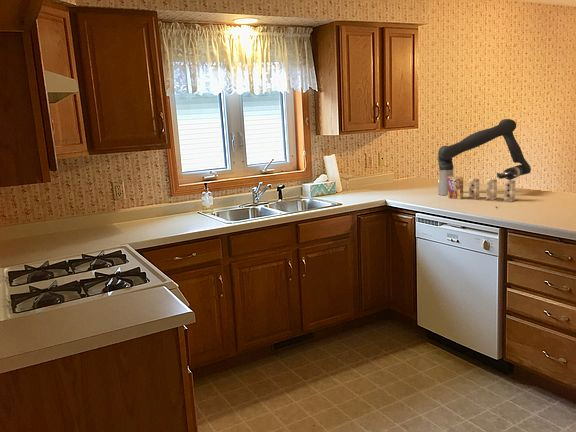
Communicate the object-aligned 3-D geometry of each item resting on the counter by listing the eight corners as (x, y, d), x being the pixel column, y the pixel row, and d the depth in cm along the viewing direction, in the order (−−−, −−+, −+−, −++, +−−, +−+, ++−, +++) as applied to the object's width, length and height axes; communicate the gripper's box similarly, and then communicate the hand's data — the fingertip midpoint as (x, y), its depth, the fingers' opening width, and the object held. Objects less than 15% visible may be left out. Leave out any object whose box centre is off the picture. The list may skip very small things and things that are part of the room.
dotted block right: (504, 200, 295) (504, 180, 293) (507, 199, 299) (507, 179, 296) (511, 201, 292) (512, 181, 290) (514, 200, 295) (515, 179, 293)
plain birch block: (486, 199, 303) (486, 179, 301) (489, 198, 306) (489, 178, 304) (493, 199, 300) (493, 180, 298) (496, 198, 303) (496, 179, 301)
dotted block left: (469, 198, 311) (469, 179, 309) (472, 197, 314) (472, 178, 312) (475, 198, 308) (476, 179, 306) (479, 197, 311) (479, 178, 309)
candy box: (463, 200, 313) (463, 176, 310) (459, 201, 310) (459, 177, 307) (451, 199, 320) (451, 176, 317) (447, 200, 317) (447, 176, 314)
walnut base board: (464, 201, 311) (464, 198, 310) (471, 198, 317) (471, 196, 317) (512, 204, 289) (512, 202, 289) (519, 202, 296) (519, 199, 296)
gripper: (501, 167, 325) (490, 170, 313) (522, 167, 315) (511, 171, 303) (501, 178, 326) (490, 182, 314) (522, 179, 317) (511, 183, 305)
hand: (500, 177), depth 309 cm, fingers closed
